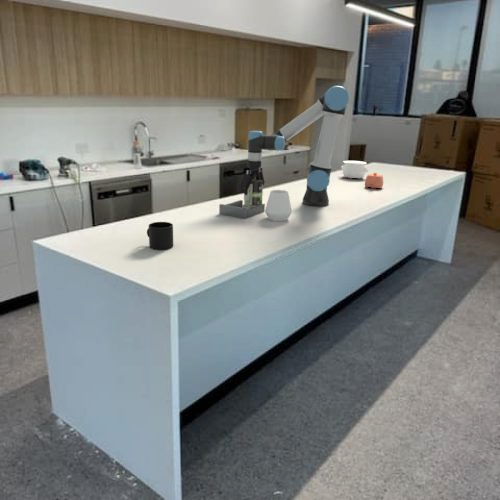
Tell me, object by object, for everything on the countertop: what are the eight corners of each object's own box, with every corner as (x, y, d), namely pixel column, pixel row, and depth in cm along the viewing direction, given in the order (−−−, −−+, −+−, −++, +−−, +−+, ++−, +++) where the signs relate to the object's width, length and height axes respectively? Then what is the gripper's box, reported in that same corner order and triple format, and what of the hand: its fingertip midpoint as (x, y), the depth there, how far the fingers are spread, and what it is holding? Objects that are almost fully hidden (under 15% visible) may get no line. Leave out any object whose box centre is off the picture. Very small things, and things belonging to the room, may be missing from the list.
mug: (155, 240, 191) (154, 219, 188) (178, 245, 186) (177, 224, 183) (139, 246, 183) (138, 224, 180) (162, 251, 178) (162, 229, 175)
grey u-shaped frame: (264, 211, 245) (264, 202, 243) (244, 218, 229) (244, 209, 227) (240, 207, 252) (240, 198, 251) (219, 214, 237) (219, 204, 235)
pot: (335, 177, 357) (336, 161, 353) (344, 175, 370) (346, 159, 366) (362, 181, 345) (363, 164, 341) (370, 178, 358) (372, 162, 354)
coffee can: (263, 203, 262) (264, 179, 258) (260, 207, 252) (261, 182, 248) (246, 202, 264) (246, 178, 259) (242, 206, 254) (242, 181, 250)
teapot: (384, 187, 324) (386, 172, 321) (378, 191, 310) (379, 175, 306) (368, 185, 330) (370, 170, 326) (361, 189, 315) (363, 173, 311)
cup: (294, 217, 235) (295, 190, 230) (287, 223, 223) (289, 195, 218) (269, 214, 239) (270, 188, 234) (261, 220, 227) (262, 192, 222)
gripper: (260, 157, 262) (258, 194, 269) (236, 161, 242) (234, 201, 249) (271, 158, 258) (269, 195, 265) (248, 163, 238) (246, 203, 245)
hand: (252, 198), depth 257 cm, fingers open, 13 cm apart
